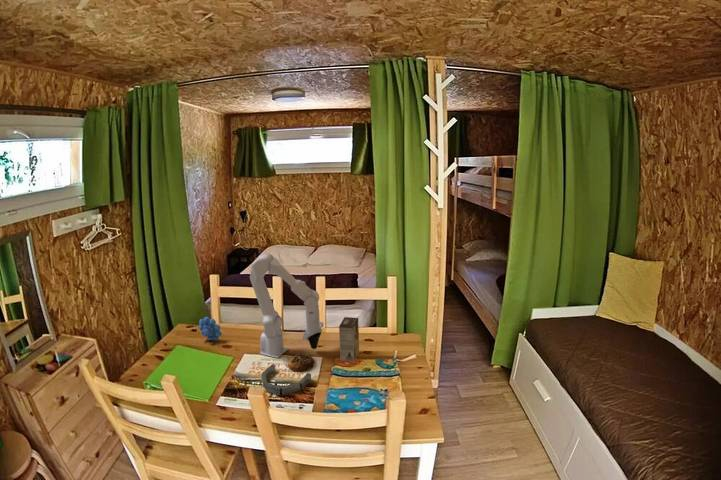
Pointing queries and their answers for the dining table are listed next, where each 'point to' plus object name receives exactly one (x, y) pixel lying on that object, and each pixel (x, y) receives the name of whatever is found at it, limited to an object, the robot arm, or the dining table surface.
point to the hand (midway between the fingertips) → (314, 348)
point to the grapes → (209, 328)
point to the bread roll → (301, 362)
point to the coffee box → (349, 339)
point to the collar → (285, 389)
